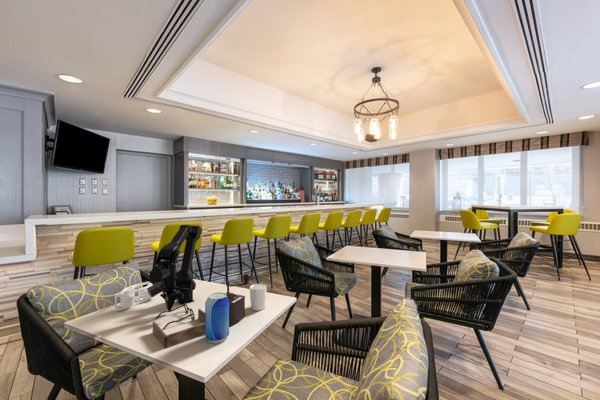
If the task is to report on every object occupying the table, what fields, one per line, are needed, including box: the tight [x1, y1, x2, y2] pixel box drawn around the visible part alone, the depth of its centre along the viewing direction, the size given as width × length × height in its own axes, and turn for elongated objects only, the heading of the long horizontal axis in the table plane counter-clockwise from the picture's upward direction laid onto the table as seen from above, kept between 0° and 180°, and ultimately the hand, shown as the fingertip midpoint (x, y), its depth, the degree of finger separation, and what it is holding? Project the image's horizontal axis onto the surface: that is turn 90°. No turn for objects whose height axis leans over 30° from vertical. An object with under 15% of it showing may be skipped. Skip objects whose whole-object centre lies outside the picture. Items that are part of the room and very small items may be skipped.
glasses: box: [154, 303, 196, 331], centre depth 116 cm, size 13×13×5 cm
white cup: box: [249, 283, 268, 311], centre depth 128 cm, size 8×8×10 cm
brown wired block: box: [152, 308, 205, 349], centre depth 105 cm, size 19×15×4 cm
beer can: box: [204, 292, 230, 344], centre depth 100 cm, size 8×8×16 cm
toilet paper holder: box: [114, 281, 156, 312], centre depth 134 cm, size 20×11×7 cm, turn 156°
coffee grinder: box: [224, 273, 252, 328], centre depth 118 cm, size 16×11×18 cm
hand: (169, 310), depth 121 cm, fingers closed
